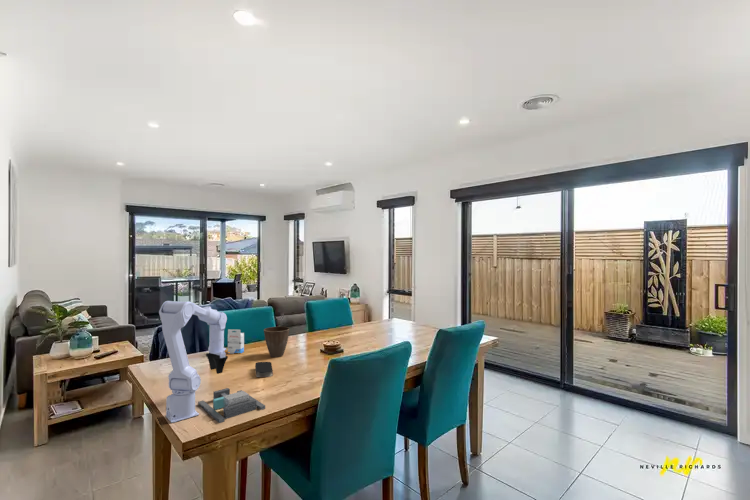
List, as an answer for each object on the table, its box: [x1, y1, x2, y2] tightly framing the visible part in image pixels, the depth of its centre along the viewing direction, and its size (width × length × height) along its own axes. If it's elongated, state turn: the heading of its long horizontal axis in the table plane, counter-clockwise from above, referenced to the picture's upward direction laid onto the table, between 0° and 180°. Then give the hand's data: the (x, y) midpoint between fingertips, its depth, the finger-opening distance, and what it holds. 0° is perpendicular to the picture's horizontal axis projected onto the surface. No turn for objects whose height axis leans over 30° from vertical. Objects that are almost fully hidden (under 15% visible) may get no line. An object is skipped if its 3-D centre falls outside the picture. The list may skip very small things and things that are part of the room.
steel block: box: [222, 390, 250, 411], centre depth 141 cm, size 8×5×6 cm, turn 134°
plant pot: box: [263, 326, 290, 358], centre depth 217 cm, size 15×15×16 cm
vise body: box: [197, 389, 266, 424], centre depth 145 cm, size 18×22×4 cm
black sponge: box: [254, 361, 274, 378], centre depth 186 cm, size 16×8×4 cm, turn 19°
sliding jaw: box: [212, 387, 231, 411], centre depth 149 cm, size 12×10×4 cm
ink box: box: [227, 328, 245, 354], centre depth 223 cm, size 8×5×15 cm, turn 85°
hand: (216, 371), depth 156 cm, fingers open, 6 cm apart
